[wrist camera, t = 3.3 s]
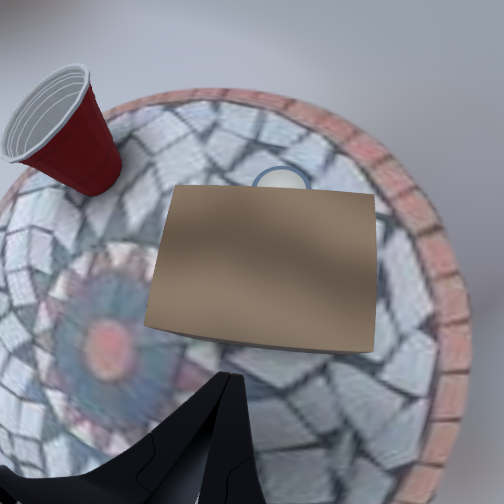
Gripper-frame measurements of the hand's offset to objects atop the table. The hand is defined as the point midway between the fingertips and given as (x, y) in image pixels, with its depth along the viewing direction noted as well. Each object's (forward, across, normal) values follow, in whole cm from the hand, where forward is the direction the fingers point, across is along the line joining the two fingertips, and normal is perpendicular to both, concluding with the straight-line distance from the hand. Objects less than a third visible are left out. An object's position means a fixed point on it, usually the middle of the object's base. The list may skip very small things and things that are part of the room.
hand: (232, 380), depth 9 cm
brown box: (+12, 0, +4) cm, 13 cm away
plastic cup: (+20, +20, -3) cm, 28 cm away
